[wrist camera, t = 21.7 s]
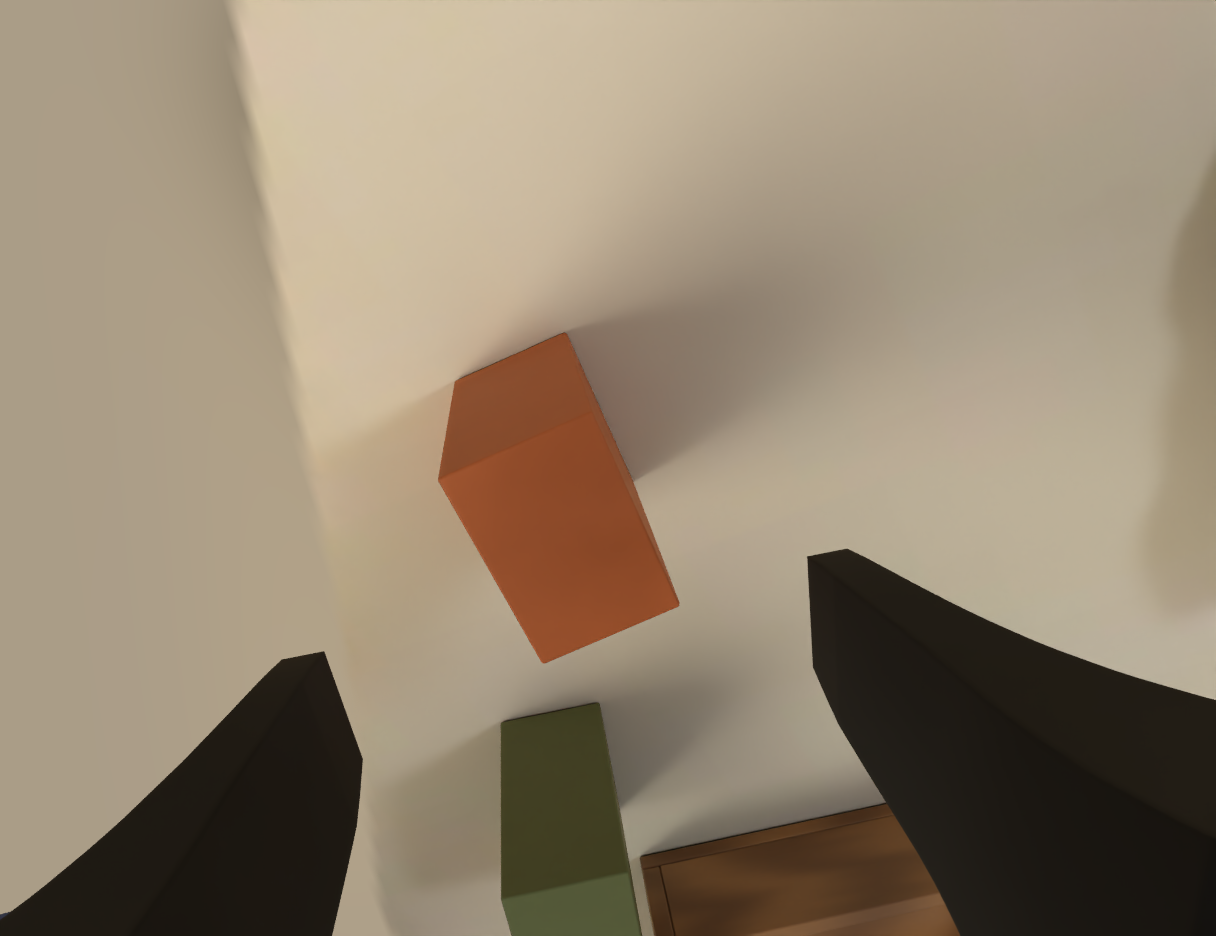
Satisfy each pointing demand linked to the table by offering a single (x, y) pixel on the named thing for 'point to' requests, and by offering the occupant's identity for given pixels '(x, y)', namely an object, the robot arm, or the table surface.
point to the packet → (563, 829)
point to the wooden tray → (799, 883)
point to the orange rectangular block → (551, 501)
